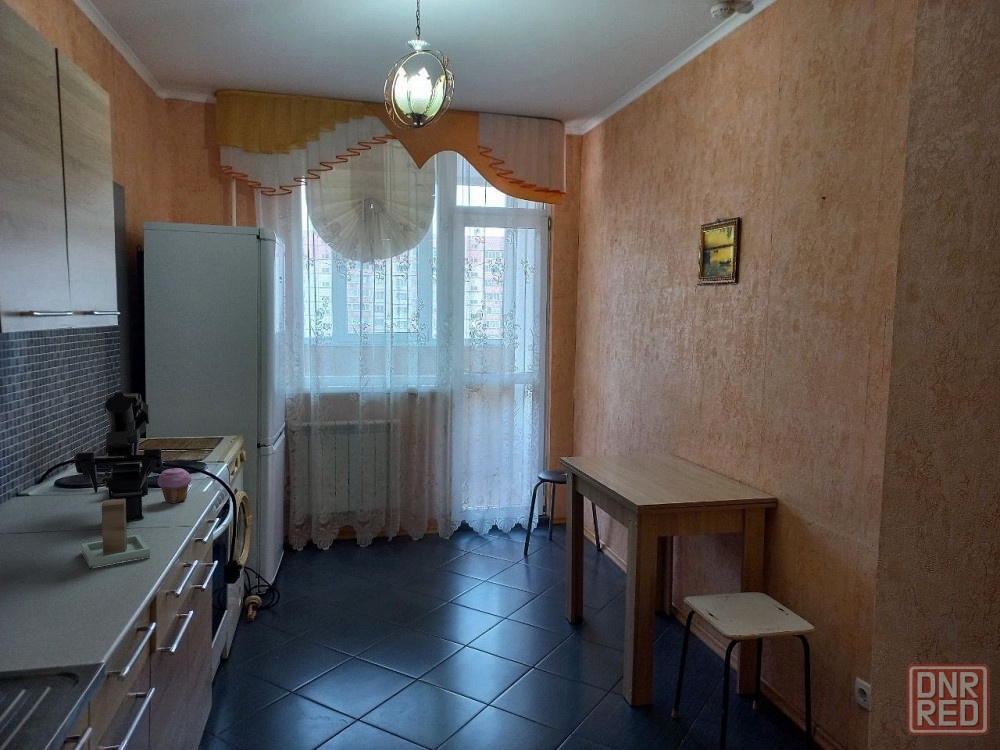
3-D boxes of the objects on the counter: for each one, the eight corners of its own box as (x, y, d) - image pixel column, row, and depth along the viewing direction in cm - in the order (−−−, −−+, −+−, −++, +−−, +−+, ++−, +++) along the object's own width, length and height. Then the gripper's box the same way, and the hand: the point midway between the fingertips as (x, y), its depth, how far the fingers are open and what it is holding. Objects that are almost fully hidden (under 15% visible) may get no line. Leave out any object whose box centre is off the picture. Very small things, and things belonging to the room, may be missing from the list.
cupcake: (171, 507, 192) (170, 473, 191) (151, 502, 195) (150, 469, 194) (197, 499, 199) (197, 467, 198) (178, 495, 203) (177, 463, 202)
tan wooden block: (105, 550, 155) (103, 500, 154) (126, 547, 157) (125, 498, 156) (103, 556, 152) (101, 505, 150) (125, 554, 153) (123, 503, 152)
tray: (139, 542, 163) (138, 534, 163) (149, 558, 154) (149, 548, 154) (81, 553, 155) (81, 544, 155) (89, 569, 146) (89, 560, 146)
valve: (132, 496, 201) (125, 487, 211) (131, 475, 201) (125, 466, 210) (107, 499, 197) (101, 490, 207) (106, 478, 197) (101, 469, 206)
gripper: (74, 419, 160) (67, 475, 151) (160, 416, 167) (159, 469, 158) (80, 445, 167) (74, 500, 158) (163, 441, 175) (161, 493, 166)
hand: (117, 490), depth 160 cm, fingers open, 9 cm apart
